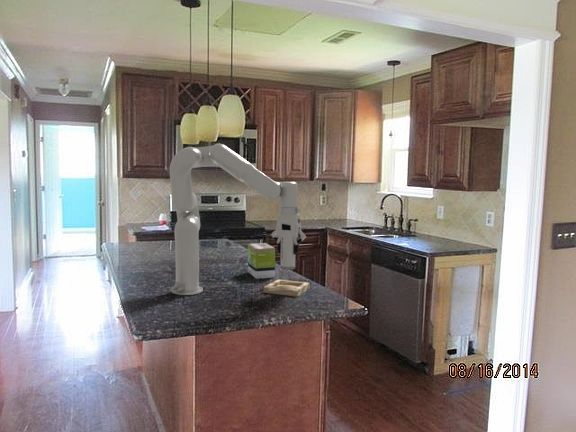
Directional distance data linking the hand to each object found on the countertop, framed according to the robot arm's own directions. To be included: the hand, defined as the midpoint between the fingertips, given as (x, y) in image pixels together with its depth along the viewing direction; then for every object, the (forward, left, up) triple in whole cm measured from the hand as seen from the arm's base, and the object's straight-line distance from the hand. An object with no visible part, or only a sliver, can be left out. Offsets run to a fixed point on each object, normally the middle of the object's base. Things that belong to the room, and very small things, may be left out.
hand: (288, 252), depth 201 cm
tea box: (+22, +23, -17) cm, 36 cm away
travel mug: (0, 0, -7) cm, 7 cm away
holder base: (0, 0, -16) cm, 16 cm away
